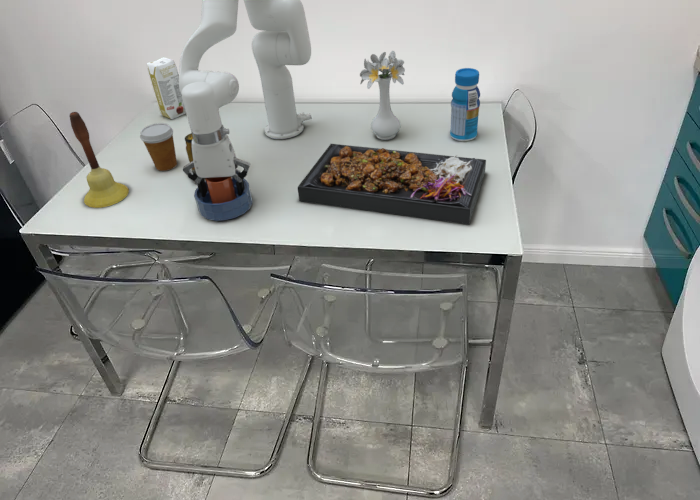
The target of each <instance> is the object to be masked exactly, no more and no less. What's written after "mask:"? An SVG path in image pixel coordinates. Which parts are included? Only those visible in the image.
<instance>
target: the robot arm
mask: <svg viewBox="0 0 700 500" xmlns="http://www.w3.org/2000/svg"><path fill="white" fill-rule="evenodd" d="M243 3H244V6H245V10H246V14H247V17H248V20H249V23H250V25H251V27H252V28H253V29H255V30H257V31H258V33H256V34H254V36H253V38H252V40H251V50H252V55H253V59H254V60H255V63H256V66H257V69H258V73H259V78H260V83H261V84H260V85H261V89H262V95H263V101H264V107H265V112H266V118H267V123H268V124H267V125H266V126H265V127H264V133H265V136H267V137H268V138H269V139H273V140H274V139H275V140H284V139H285V140H286V139H290V138H291V139H292V138H294V137H296V136H298V135H300V134H301V133H302V132H303V131H304V122H306V121H310V120H312V119H313V118H312V117H313V116H312V114H311V113H306V114H305V112H301V113H298V112H297V106H296V99H295V98H296V97H295V92H294V91H295V90H294V84H293V77H292V73H291V71H290V70H289V69H288V67H287V66H305V65H306V64H308V63H309V62H310V60H311V58H312V44H311V37H310V33H309V28H308V21H307V17H306V11H305V8H304V4H303V3H302V1H301V0H243ZM200 11H201V13H200V22H199V26H198V28H196V30H194V32H193V33H192V34H191V36H190V37H189V39H188V40H187V42H185V45H184V46H183V49H182V51H181V53H180V57H179V66H178V67H179V68H178V74H179V89H180V92H181V94H182V99H183V103H184V107H185V110H186V118H187V122H188V125H189V128H190V133H192V136H193V139H192V154H193V161H192V162H188V163H187V164H185V165H184V166H183V167H182V169H181V170H182V172H184V174H185V175H187V178H188V179H190V180H191V181H193V183H194V182H195V183H194V184H195V185H197V186H196V187H198V189H199V193H201V195H202V197H205V196H206V194H207V187H206V183H205V180H204V178H214V177H230V176H232V177H233V178H234V179H235V180H237V181H236V186H237V191H238V195H239V196H241V195H242V192H243V191H244V190H245V187H244V182H243V179H246V177H247V176H248V172H249V170H250V168H251V163H250V162H248V161H245V160H243V159H241V158H237V155H236V152H235V149H234V146H233V144H232V141H231V139H230V137H229V135H230V129H229V128H225V127H224V125H223V123H222V118H221V114H220V109H221V108H222V107H224V106H226V105H229V104H230V103H232V102H233V101H235V99H236V98H237V97H238V94H239V91H240V83H239V80H238V78H237V77H236V76H235V75H234V73H231V72H228V71H222V70H221V71H219V70H218V71H216V70H215V71H214V70H199V66H200V63H201V60H202V58H203V56H204V54H205V53H206V52H207V51H208V50H209V49H210V48H212V47H213V46H214V45H216V44H219V43H220V42H222V41H224V40H226V39H228V38H230V37H231V36H233V35H234V34H235V33H236V31H237V26H238V11H239V0H201V10H200ZM194 167H195V171H196V173H194V172H192V171H191V170H192V168H194ZM238 167H241V168H242V171H241V170H239V169H238Z"/></svg>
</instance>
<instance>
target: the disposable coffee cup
mask: <svg viewBox="0 0 700 500" xmlns="http://www.w3.org/2000/svg"><path fill="white" fill-rule="evenodd" d="M139 132H140V135H139V139H140V140H141V141H142V142H143V144H144V146H145V148H146V150H147V153H148V154H149V156H150V158H151V160H152V163H153V164H154V166H155V169H156V170H157V171H159V172H160V171H161V172H164V171H170V170H173V169H174V168H176V167H177V166H178V161H177V154H176V148H175V141H174V129H173V128H172V126H171V125H170V124H168V123H166V122H157V123H152V124H149V125H147V126H144V127H143V128H141V130H140V131H139Z"/></svg>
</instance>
